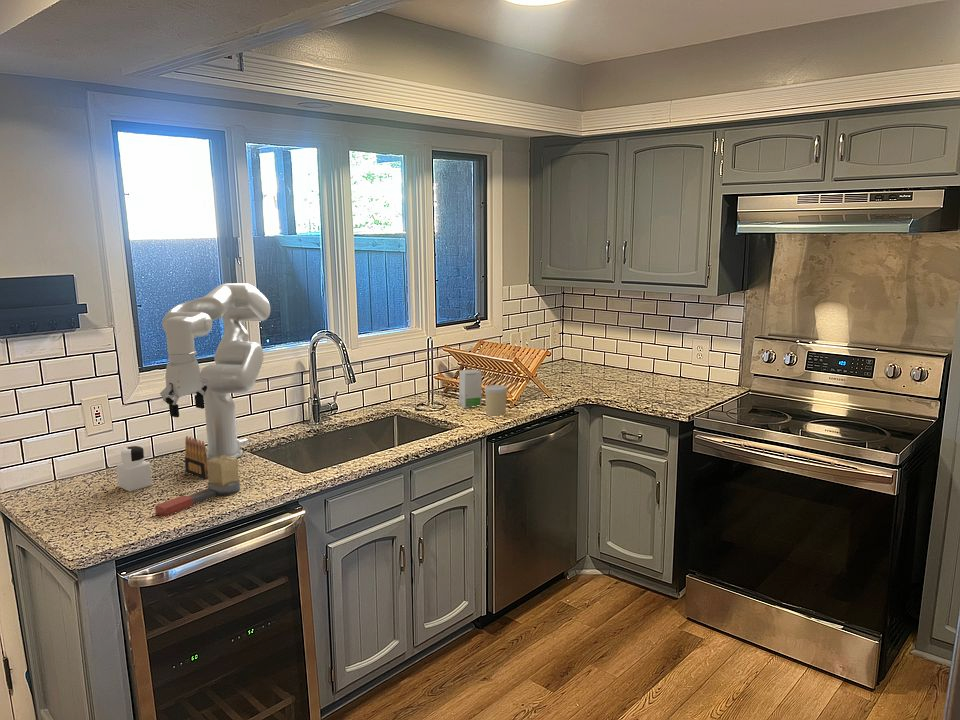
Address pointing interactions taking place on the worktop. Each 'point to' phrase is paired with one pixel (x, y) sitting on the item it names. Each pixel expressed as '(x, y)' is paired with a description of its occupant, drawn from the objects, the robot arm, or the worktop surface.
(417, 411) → the worktop surface
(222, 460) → the wooden block
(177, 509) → the ratchet
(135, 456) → the medicine bottle
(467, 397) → the skincare box
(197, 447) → the ammunition clip
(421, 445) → the worktop surface
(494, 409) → the coffee cup
